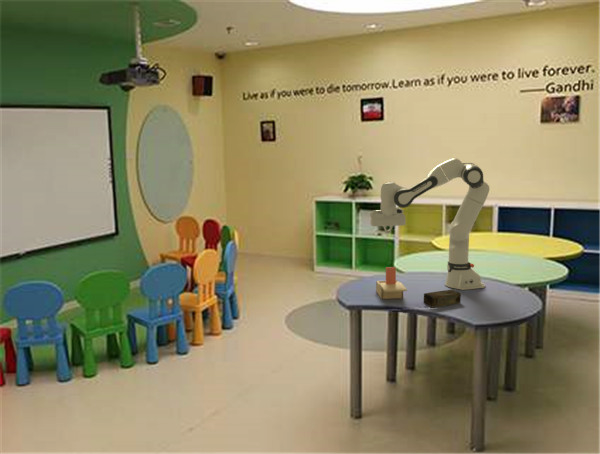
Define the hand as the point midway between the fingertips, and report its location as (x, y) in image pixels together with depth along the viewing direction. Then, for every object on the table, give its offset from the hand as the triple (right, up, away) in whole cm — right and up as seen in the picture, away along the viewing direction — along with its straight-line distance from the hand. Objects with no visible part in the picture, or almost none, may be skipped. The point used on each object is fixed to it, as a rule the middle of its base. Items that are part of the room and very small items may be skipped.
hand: (387, 233), depth 328 cm
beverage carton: (+24, -38, -31) cm, 54 cm away
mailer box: (-2, -35, -17) cm, 39 cm away
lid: (-1, -29, -26) cm, 39 cm away
